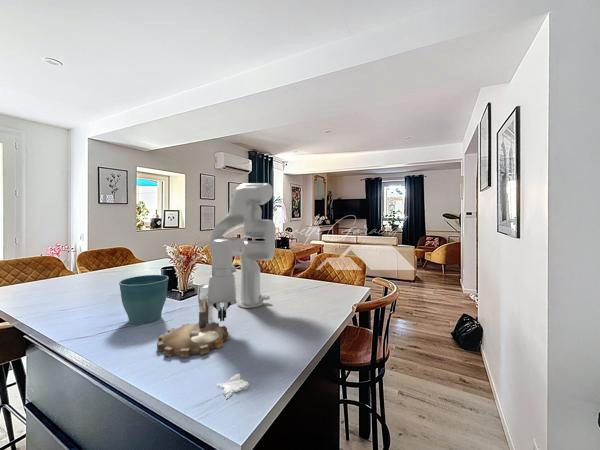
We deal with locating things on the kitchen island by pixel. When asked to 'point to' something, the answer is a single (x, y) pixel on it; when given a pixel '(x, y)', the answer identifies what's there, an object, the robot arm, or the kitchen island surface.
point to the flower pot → (144, 297)
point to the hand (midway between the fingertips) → (222, 319)
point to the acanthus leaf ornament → (233, 385)
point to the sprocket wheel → (192, 338)
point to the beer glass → (205, 303)
